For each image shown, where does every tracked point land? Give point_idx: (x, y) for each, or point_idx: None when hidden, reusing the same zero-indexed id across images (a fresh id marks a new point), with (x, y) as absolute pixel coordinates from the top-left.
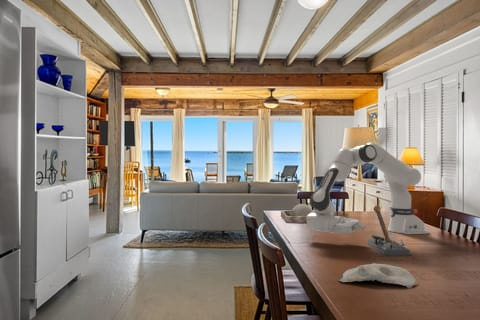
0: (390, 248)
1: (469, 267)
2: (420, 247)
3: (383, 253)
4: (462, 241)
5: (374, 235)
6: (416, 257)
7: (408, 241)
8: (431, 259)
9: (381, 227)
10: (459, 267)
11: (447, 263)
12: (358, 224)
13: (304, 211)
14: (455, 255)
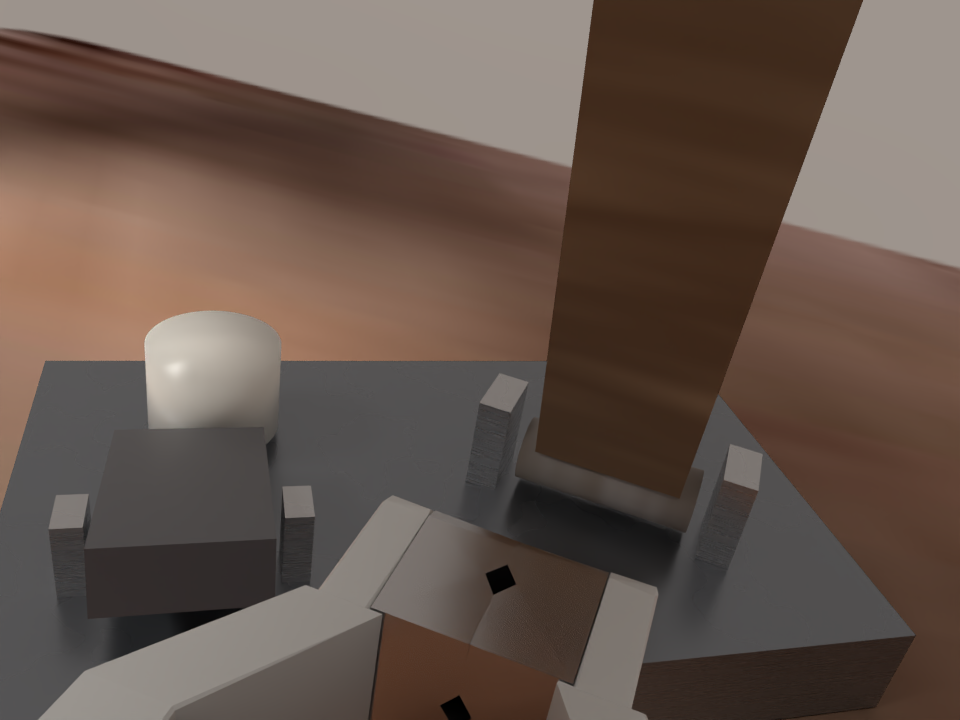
0: (745, 526)
1: (825, 245)
2: (245, 258)
3: (852, 695)
4: (27, 54)
5: (140, 521)
6: (732, 399)
7: None
8: None
9: (768, 248)
10: (872, 279)
11: (802, 293)
12: (181, 710)
13: None
14: (501, 194)
